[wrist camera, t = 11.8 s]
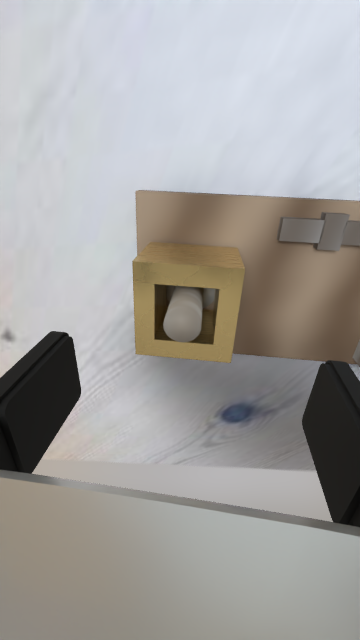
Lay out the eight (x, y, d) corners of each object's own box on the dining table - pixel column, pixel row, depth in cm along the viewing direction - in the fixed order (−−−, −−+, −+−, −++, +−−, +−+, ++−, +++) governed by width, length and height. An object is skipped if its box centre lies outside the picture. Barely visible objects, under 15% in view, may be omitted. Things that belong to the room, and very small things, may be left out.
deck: (443, 205, 18) (598, 224, 11) (377, 358, 24) (450, 438, 16) (139, 190, 20) (97, 198, 12) (143, 338, 25) (115, 404, 18)
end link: (237, 247, 19) (245, 268, 15) (226, 325, 22) (230, 362, 17) (150, 241, 20) (132, 261, 15) (150, 318, 22) (135, 354, 18)
